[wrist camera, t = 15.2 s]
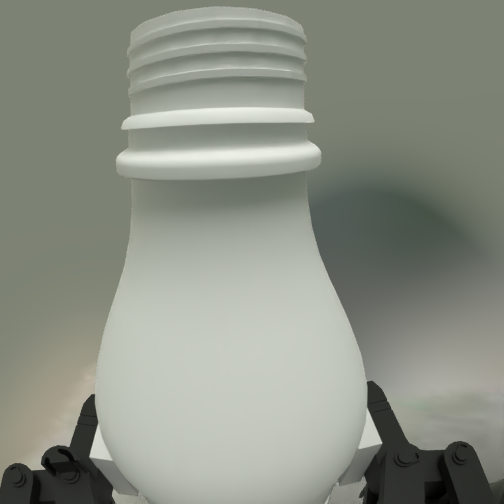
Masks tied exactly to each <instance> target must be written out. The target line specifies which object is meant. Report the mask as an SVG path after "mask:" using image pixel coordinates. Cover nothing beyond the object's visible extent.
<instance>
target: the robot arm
mask: <svg viewBox="0 0 504 504" xmlns="http://www.w3.org/2000/svg"><path fill="white" fill-rule="evenodd" d="M41 465H42V466H43V467H44V468H45V469H46V470H33V471H31V470H30V469H29V468H28V467H27V466H26V465H24V464H21V463H15V464H12V465H10V466H9V467H8V468H7V469H6V470H5V472H4V474H3V478H2V482H1V487H0V504H115V501H114V499H113V497H112V491H113V488H114V489H115V490H116V492H117V493H119V494H127V495H135V496H138V494H139V491H138V490H137V489H136V488H135V487H134V486H133V485H132V484H131V483H130V482H128V481H127V480H126V479H125V477H124V476H123V475H122V473H121V472H120V470H119V469H118V467H117V466H116V465H115V463H114V462H113V460H112V458H111V456H110V454H109V452H108V449H107V447H106V445H105V443H104V440H103V438H102V435H101V431H100V427H99V422H98V418H97V412H96V407H95V394H92V395H91V396H90V397H89V398H88V399H87V400H86V401H85V403H84V404H83V407H82V410H81V413H80V416H79V419H78V422H77V425H76V428H75V431H74V434H73V437H72V441H71V444H70V447H66V446H59V445H58V446H54V447H51V448H50V449H48V450H47V451H46V452H45V453H44V455H43V456H42V460H41ZM363 476H365V479H366V482H367V484H366V486H365V487H364V489H363V490H362V491H361V493H360V496H359V498H362V497H363V495H364V498H363V504H504V479H502V480H499V481H497V482H495V483H492V484H489V483H488V481H487V478H486V476H485V473H484V471H483V468H482V466H481V463H480V461H479V459H478V456H477V454H476V452H475V450H474V449H473V447H472V446H471V445H469V444H468V443H466V442H462V441H458V442H454V443H452V444H450V445H449V446H448V447H447V448H446V449H445V450H430V451H427V450H420V449H418V447H416V446H414V445H412V444H410V443H409V442H408V441H407V439H406V438H405V436H404V433H403V431H402V429H401V427H400V425H399V423H398V421H397V419H396V417H395V415H394V413H393V411H392V410H391V407H390V404H389V402H387V398H386V396H385V394H384V392H383V390H382V389H381V388H380V387H379V386H378V385H377V384H376V383H374V382H373V381H369V382H367V413H366V423H365V427H364V430H363V434H362V438H361V441H360V445H359V447H358V449H357V451H356V453H355V455H354V457H353V459H352V461H351V463H350V465H349V466H348V467H347V469H346V470H345V471H344V473H343V474H342V475H341V476H340V477H339V479H338V481H339V485H340V486H342V485H346V484H351V483H355V482H359V481H361V479H362V477H363Z"/></svg>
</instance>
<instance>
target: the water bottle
mask: <svg viewBox="0 0 504 504" xmlns="http://www.w3.org/2000/svg"><path fill="white" fill-rule="evenodd" d="M306 43H307V37H306V36H305V35H304V33H303V27H302V26H301V25H300V24H298V23H297V22H296V21H294V20H293V19H291V18H289V17H287V16H284V15H280V14H276V13H272V12H268V11H264V10H260V9H253V8H238V7H206V8H197V9H189V10H182V11H176V12H171V13H168V14H165V15H162V16H159V17H156V18H153V19H150V20H148V21H145V22H143V23H141V24H140V25H139V26H138V27H137V28H136V29H134V30H133V31H132V32H131V39H130V47H129V48H128V49H127V56H128V58H129V61H130V67H129V68H128V71H127V77H128V78H129V79H130V85H131V87H130V88H129V89H128V98H130V99H131V117H129V118H127V119H126V120H124V121H123V124H122V128H121V129H123V130H125V129H128V134H129V147H128V148H127V149H126V150H124V151H123V152H121V153H120V154H119V156H117V158H116V168H117V173H118V174H119V175H121V176H123V177H127V178H131V188H132V212H131V226H130V238H129V244H128V249H127V255H126V261H125V266H124V269H123V272H122V276H121V279H120V282H119V286H118V288H117V291H116V294H115V297H114V301H113V304H112V307H111V310H110V313H109V316H108V320H107V323H106V326H105V329H104V334H103V338H102V343H101V348H100V352H99V357H98V362H97V367H96V383H95V407H96V412H97V418H98V422H99V427H100V431H101V435H102V438H103V440H104V443H105V445H106V447H107V449H108V452H109V454H110V456H111V458H112V460H113V462H114V463H115V465H116V466H117V467H118V469H119V470H120V472H121V473H122V475H123V476H124V477H125V479H126V480H127V481H128V482H130V483H131V484H132V485H133V486H134V487H135V488H136V489H137V490H138V491H139V492H141V493H142V494H143V495H144V497H145V498H146V499H147V501H148V502H149V503H150V504H328V502H329V498H330V495H331V491H332V489H333V487H334V485H335V483H336V481H337V480H338V479H339V477H340V476H341V475H342V474H343V473H344V471H345V470H346V469H347V467H348V466H349V465H350V463H351V461H352V459H353V457H354V455H355V453H356V451H357V449H358V447H359V445H360V441H361V438H362V434H363V430H364V427H365V423H366V413H367V382H366V376H365V372H364V367H363V362H362V357H361V353H360V350H359V347H358V345H357V342H356V339H355V336H354V334H353V331H352V328H351V326H350V323H349V321H348V318H347V316H346V314H345V311H344V309H343V307H342V305H341V302H340V301H339V298H338V296H337V294H336V291H335V289H334V287H333V285H332V283H331V281H330V279H329V277H328V274H327V272H326V269H325V267H324V264H323V262H322V260H321V257H320V255H319V251H318V247H317V244H316V240H315V236H314V233H313V229H312V225H311V218H310V211H309V205H308V198H307V179H306V177H307V175H306V171H309V170H312V169H315V168H317V167H318V166H320V163H321V151H320V149H319V148H318V147H317V146H316V145H315V144H312V143H311V142H309V141H308V140H307V124H306V123H308V122H309V123H310V122H314V119H313V117H312V114H311V113H309V112H307V111H306V110H304V83H306V82H307V77H306V75H305V74H304V64H305V63H306V58H307V57H306V54H304V45H305V44H306Z"/></svg>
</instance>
